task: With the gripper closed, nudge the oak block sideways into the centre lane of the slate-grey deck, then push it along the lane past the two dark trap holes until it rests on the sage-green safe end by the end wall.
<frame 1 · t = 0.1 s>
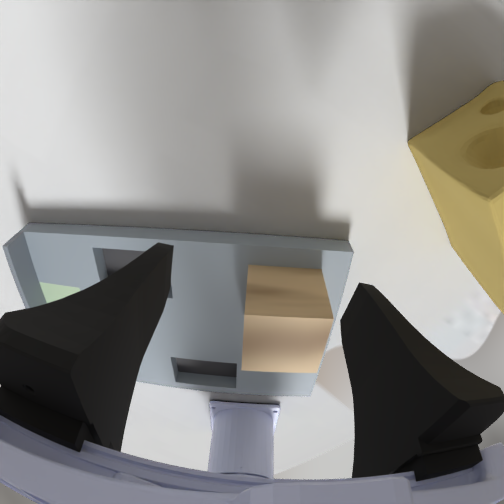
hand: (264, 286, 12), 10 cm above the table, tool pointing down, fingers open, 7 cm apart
oak block: (281, 295, 23), point 2 cm above the table, touching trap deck
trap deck: (175, 317, 26), on the table
cheese: (475, 167, 19), on the table
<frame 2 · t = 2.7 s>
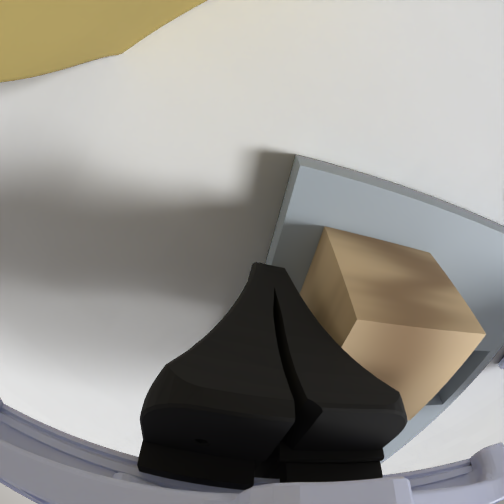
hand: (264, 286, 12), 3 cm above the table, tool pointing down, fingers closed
oak block: (359, 290, 13), point 2 cm above the table, touching gripper, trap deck
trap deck: (360, 383, 19), on the table
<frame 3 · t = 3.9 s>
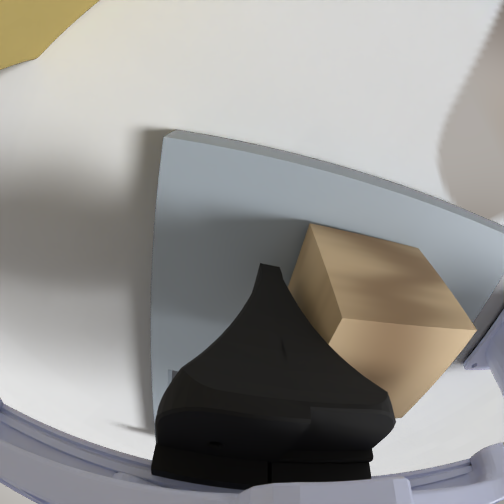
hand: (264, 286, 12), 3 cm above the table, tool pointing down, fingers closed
oak block: (346, 287, 13), point 2 cm above the table, touching gripper, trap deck
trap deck: (292, 375, 19), on the table
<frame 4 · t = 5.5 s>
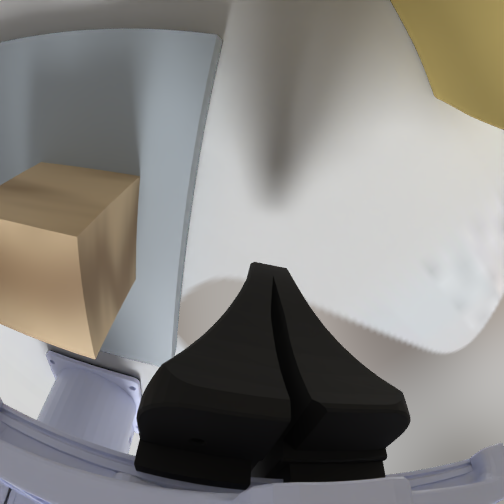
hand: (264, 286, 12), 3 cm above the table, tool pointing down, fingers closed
oak block: (86, 221, 13), point 2 cm above the table, touching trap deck
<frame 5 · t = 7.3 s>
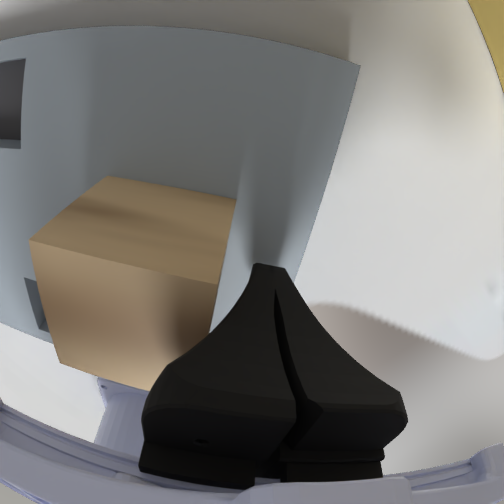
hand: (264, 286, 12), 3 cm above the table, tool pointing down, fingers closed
oak block: (162, 245, 12), point 2 cm above the table, touching gripper
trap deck: (37, 206, 13), on the table
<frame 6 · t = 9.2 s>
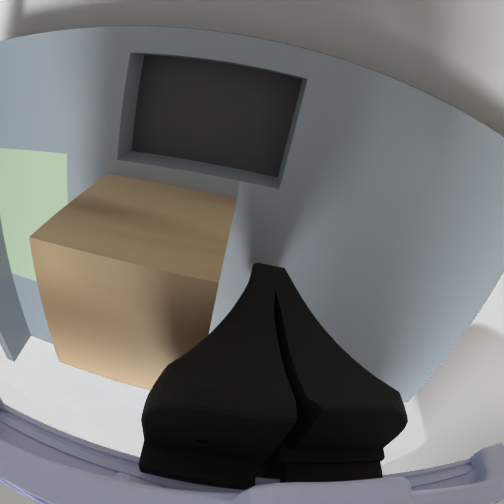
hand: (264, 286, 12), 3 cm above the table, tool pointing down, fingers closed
oak block: (162, 243, 12), point 2 cm above the table, touching gripper
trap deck: (247, 248, 14), on the table
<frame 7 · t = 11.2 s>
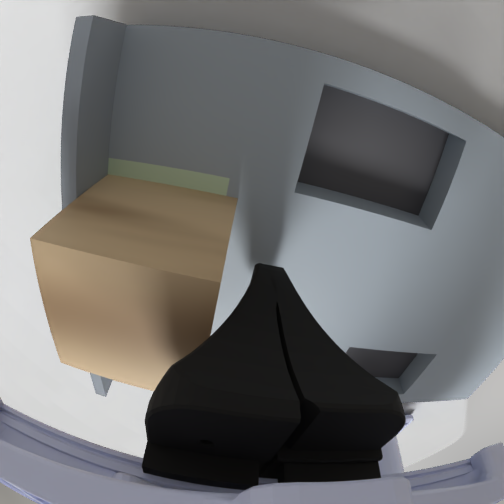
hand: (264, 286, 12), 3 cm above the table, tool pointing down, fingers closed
oak block: (163, 243, 12), point 2 cm above the table, touching gripper, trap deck
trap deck: (379, 274, 15), on the table
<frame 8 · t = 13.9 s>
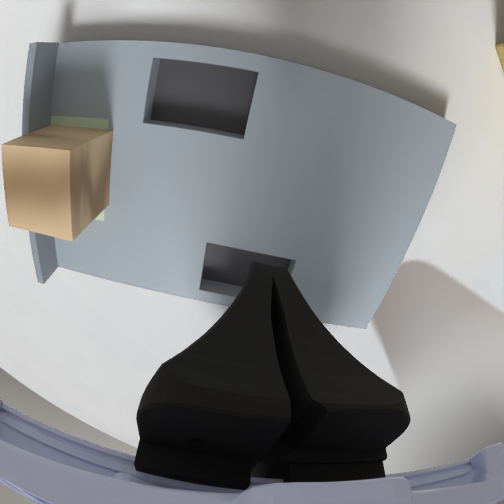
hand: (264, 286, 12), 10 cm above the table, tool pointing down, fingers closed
oak block: (78, 164, 18), point 2 cm above the table, touching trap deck
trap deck: (226, 185, 20), on the table
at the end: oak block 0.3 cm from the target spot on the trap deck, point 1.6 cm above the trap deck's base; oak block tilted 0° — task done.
